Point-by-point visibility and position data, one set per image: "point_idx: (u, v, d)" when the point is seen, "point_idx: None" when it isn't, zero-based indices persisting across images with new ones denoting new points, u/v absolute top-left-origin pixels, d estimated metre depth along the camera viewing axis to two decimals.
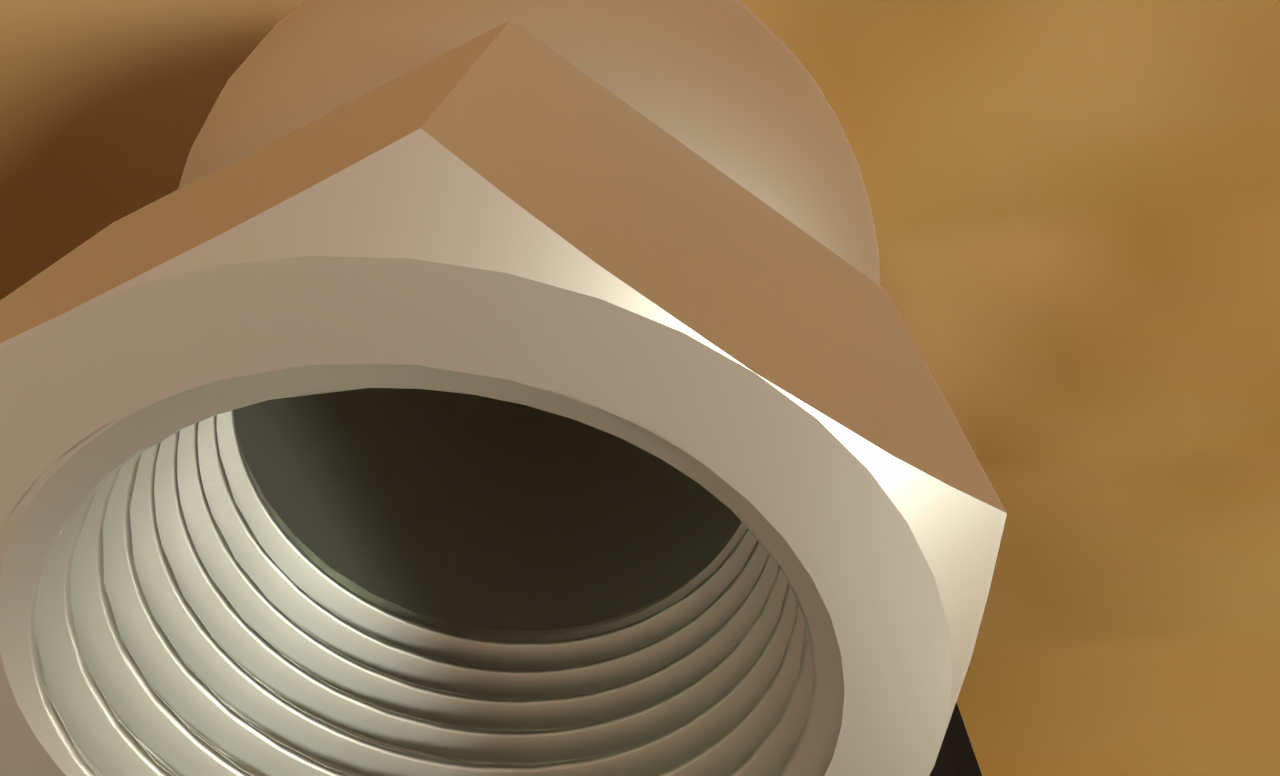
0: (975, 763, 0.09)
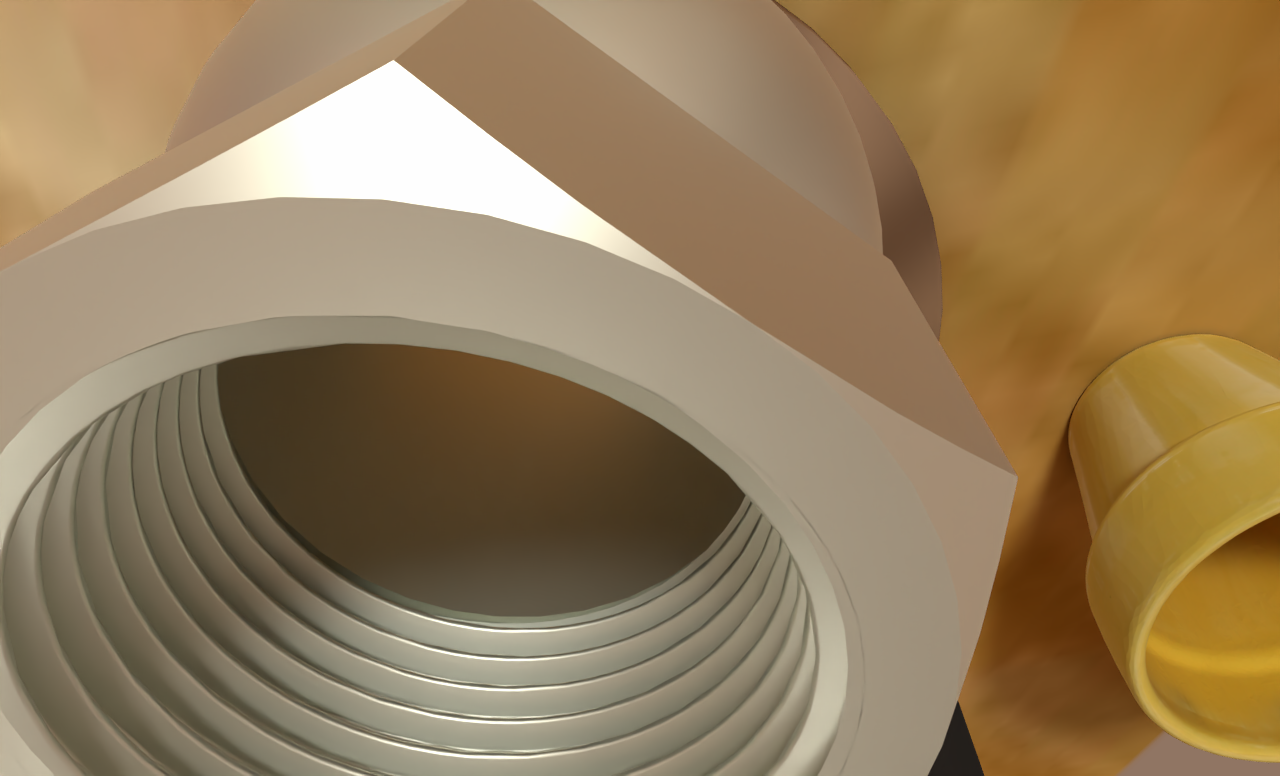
0: (978, 764, 0.08)
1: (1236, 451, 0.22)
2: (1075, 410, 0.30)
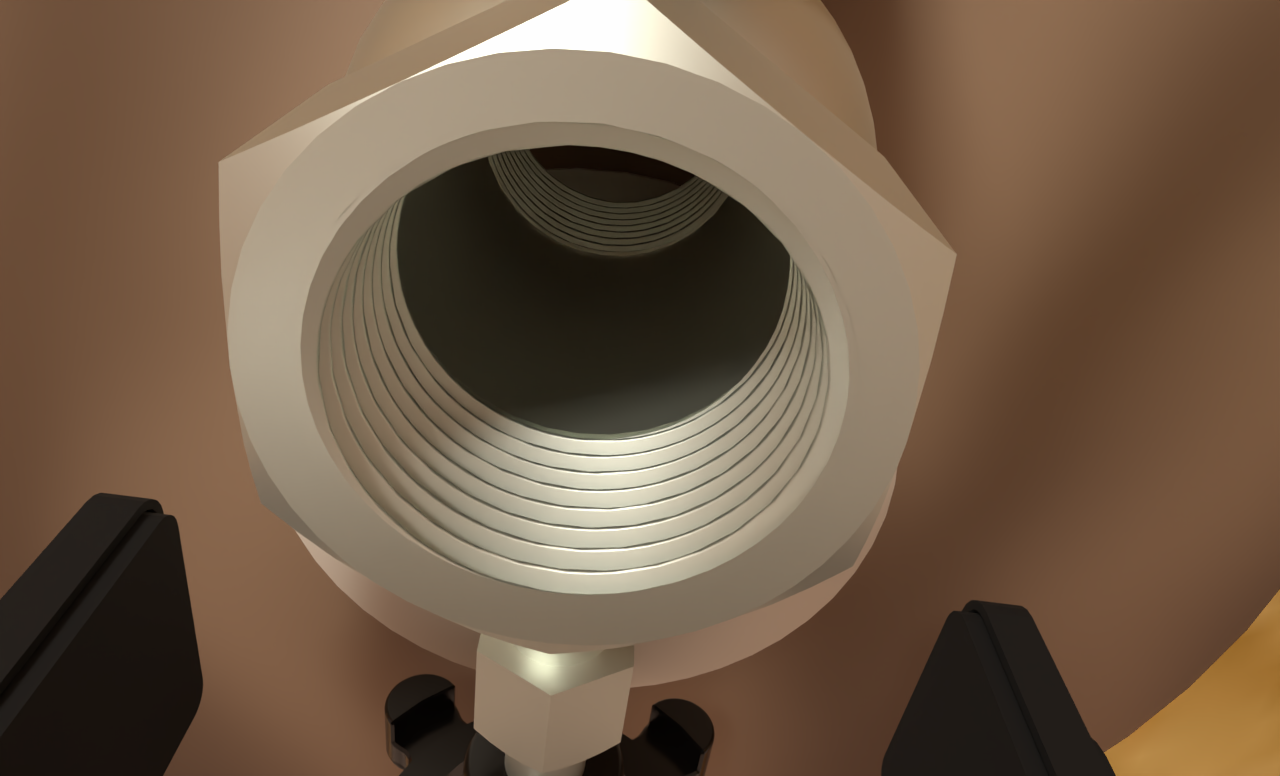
0: None
1: None
2: None
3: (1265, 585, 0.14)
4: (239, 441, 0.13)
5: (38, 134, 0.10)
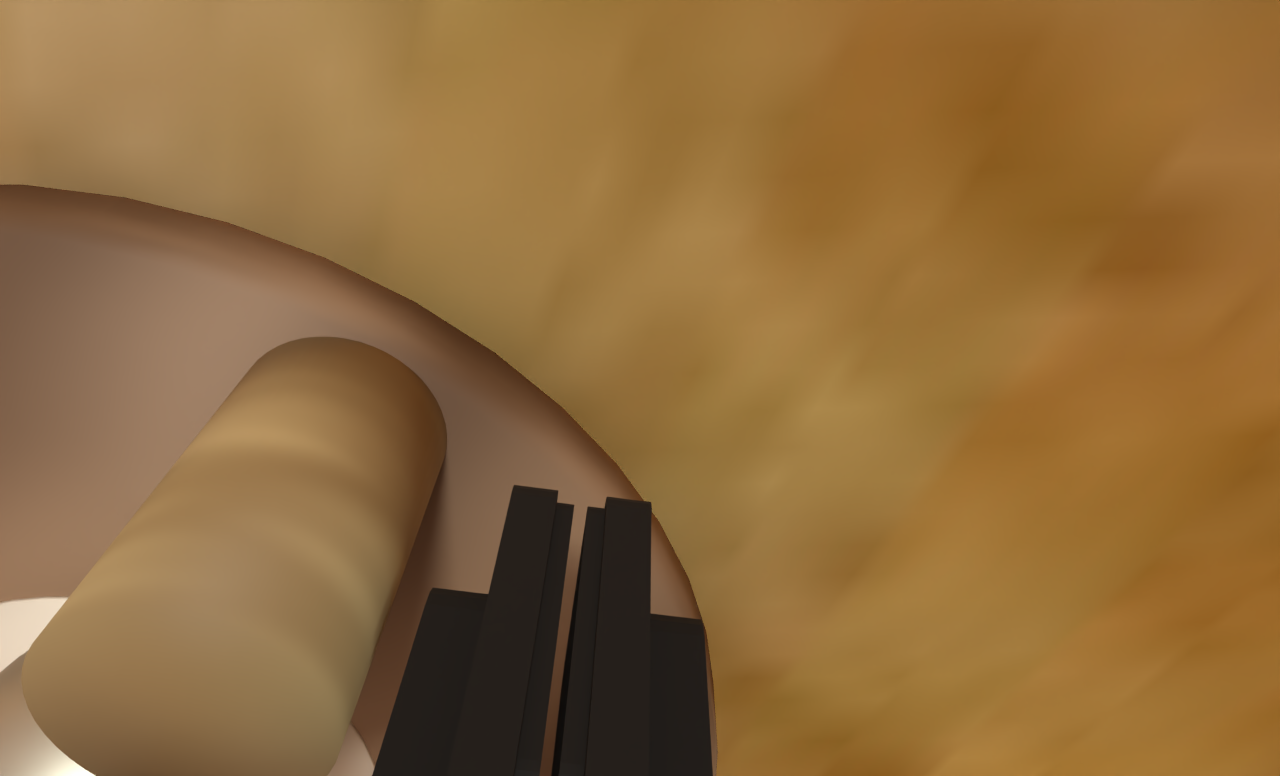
0: (706, 712, 0.09)
1: None
2: None
3: None
4: None
5: None
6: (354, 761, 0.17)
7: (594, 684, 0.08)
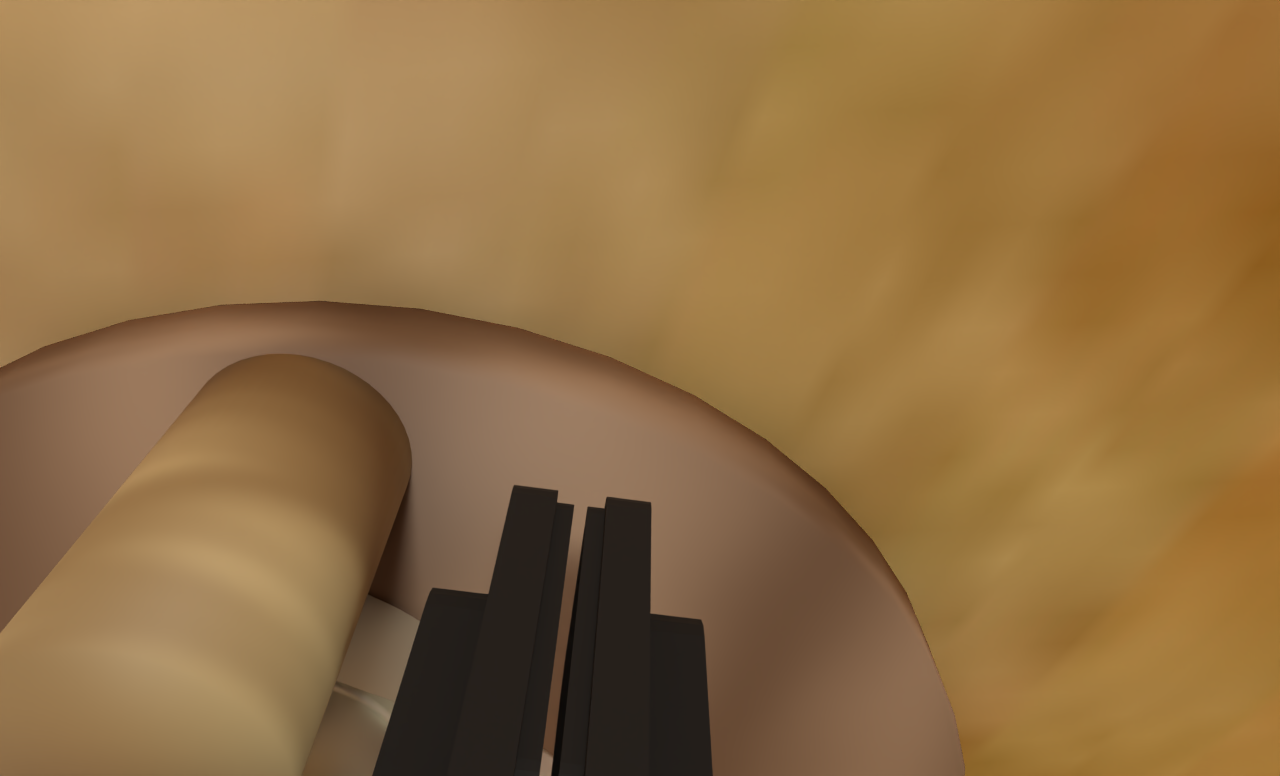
0: (706, 712, 0.09)
1: None
2: None
3: None
4: None
5: None
6: (550, 775, 0.16)
7: (594, 684, 0.08)
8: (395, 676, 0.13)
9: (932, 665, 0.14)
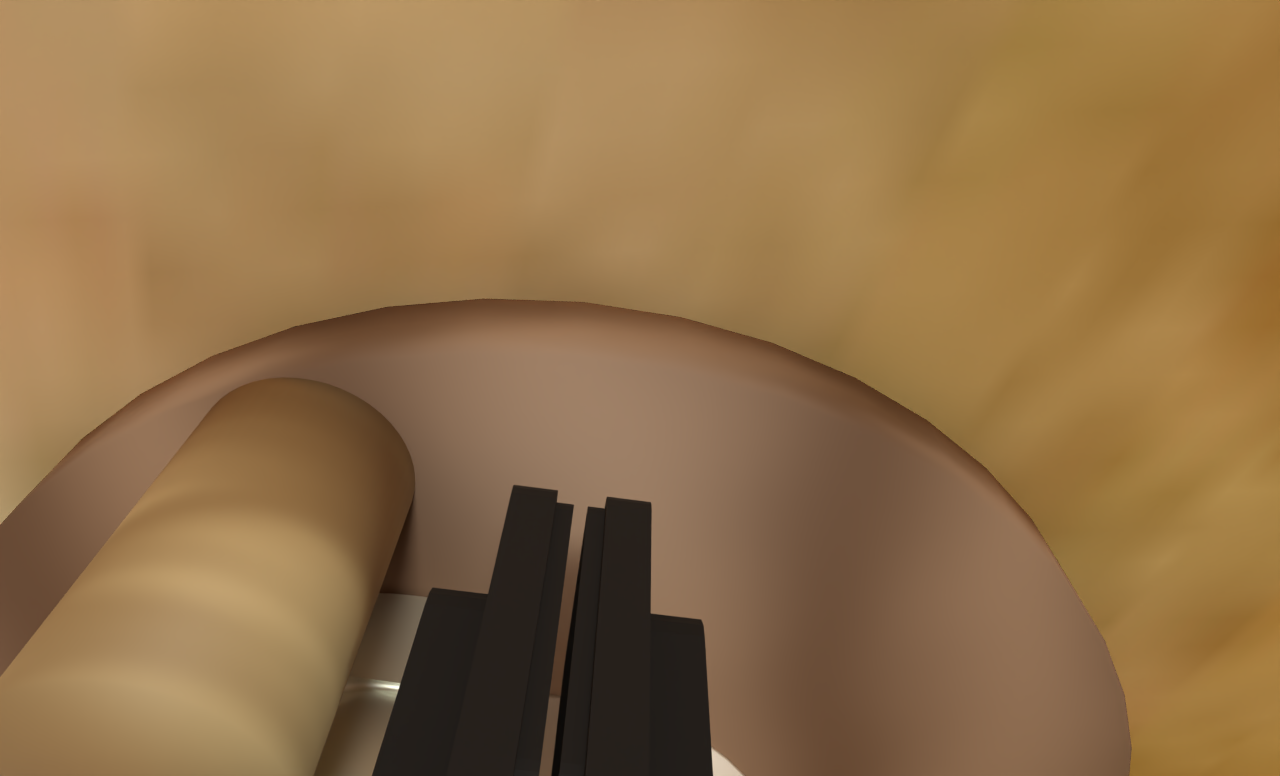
0: (706, 712, 0.09)
1: None
2: None
3: (1114, 767, 0.16)
4: None
5: None
6: None
7: (594, 684, 0.08)
8: None
9: (1024, 536, 0.13)
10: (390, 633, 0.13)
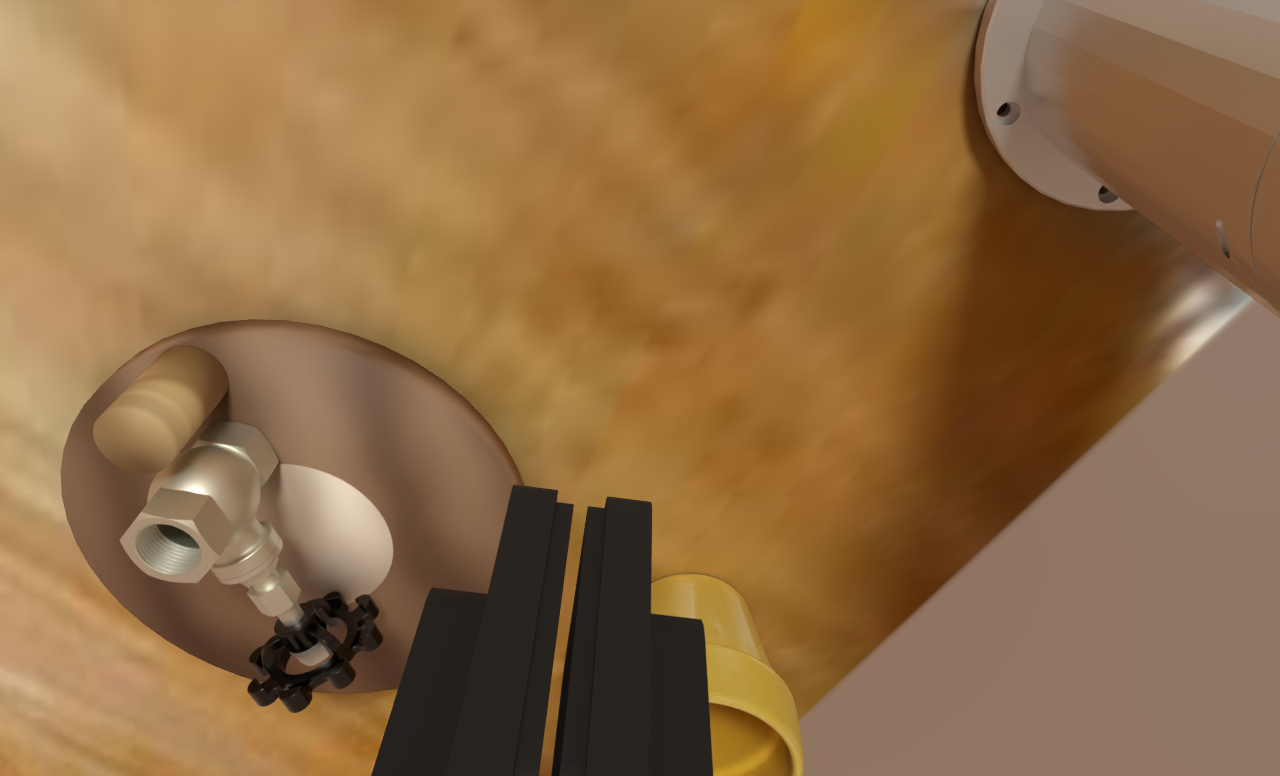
0: (706, 712, 0.09)
1: None
2: None
3: None
4: None
5: (129, 509, 0.42)
6: (333, 483, 0.41)
7: (595, 684, 0.08)
8: (241, 441, 0.38)
9: (436, 399, 0.38)
10: (221, 431, 0.38)
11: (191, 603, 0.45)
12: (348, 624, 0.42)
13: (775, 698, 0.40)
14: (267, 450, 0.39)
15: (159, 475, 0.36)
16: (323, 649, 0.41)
